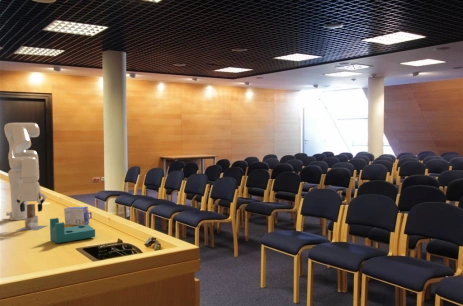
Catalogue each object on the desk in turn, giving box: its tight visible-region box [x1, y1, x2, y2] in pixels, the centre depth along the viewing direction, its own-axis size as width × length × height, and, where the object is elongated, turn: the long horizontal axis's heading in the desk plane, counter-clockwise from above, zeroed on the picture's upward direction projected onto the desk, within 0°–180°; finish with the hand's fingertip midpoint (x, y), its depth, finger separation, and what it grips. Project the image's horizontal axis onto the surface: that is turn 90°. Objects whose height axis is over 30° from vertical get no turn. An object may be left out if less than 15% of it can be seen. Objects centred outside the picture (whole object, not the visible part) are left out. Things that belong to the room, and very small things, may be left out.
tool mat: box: [15, 225, 47, 232], centre depth 237 cm, size 12×12×1 cm
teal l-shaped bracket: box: [49, 217, 96, 244], centre depth 209 cm, size 18×11×10 cm, turn 127°
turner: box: [24, 203, 39, 231], centre depth 237 cm, size 3×8×13 cm, turn 179°
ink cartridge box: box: [63, 206, 93, 226], centre depth 246 cm, size 10×6×14 cm
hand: (31, 211), depth 237 cm, fingers open, 9 cm apart
